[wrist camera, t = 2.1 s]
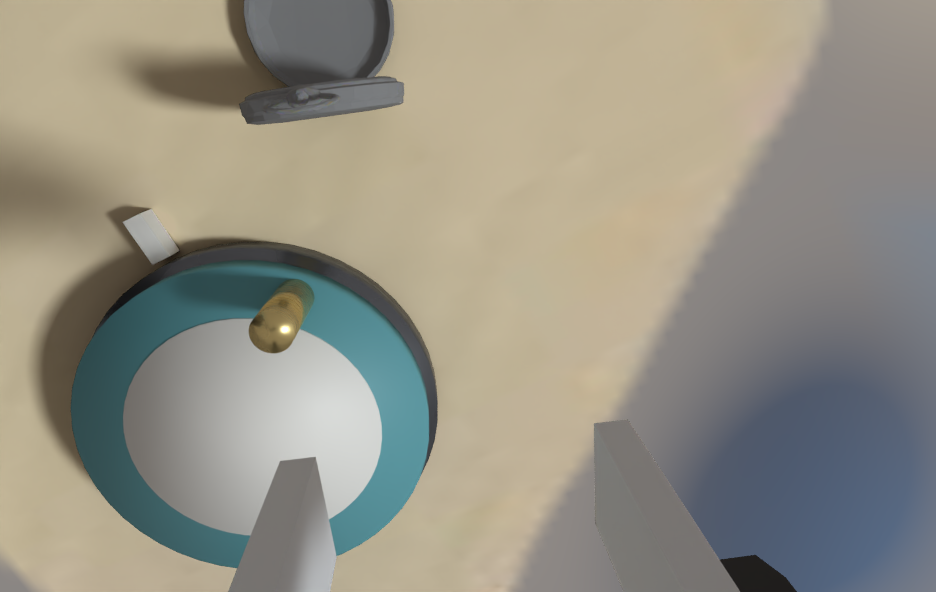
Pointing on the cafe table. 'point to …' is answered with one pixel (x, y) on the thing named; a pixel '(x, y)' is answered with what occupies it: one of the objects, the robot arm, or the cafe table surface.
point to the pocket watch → (321, 58)
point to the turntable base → (162, 246)
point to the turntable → (248, 405)
